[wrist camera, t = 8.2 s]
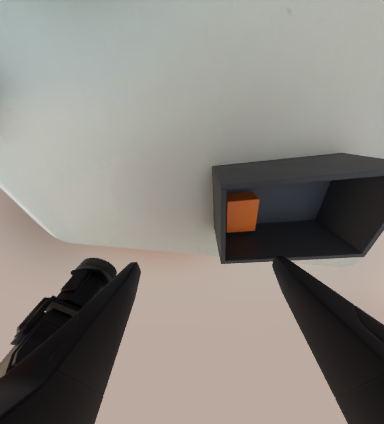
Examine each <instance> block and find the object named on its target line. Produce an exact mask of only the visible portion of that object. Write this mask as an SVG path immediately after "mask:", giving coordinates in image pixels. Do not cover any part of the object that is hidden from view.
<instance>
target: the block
mask: <svg viewBox="0 0 384 424" xmlns="http://www.w3.org/2000/svg"><path fill="white" fill-rule="evenodd" d="M259 200H260V199H259V198H258V197H257V196H256V195H255V194H254V193H253V192H244V193H233V194H227V198H226V232H227V233H229V232H244V231H255V227H256V220H257V214H258V207H259Z"/></svg>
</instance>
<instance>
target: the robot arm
mask: <svg viewBox="0 0 384 424" xmlns="http://www.w3.org/2000/svg"><path fill="white" fill-rule="evenodd" d="M272 265H273V269H274V272H275V275H276V278H277V280H278V283H279V285H280V288H281V290H282V293H283V295H284V297H285V299H286V301H287V303H288V305H289V307H290V309H291V311H292V313H293V315H294V317H295V319H296V321H297V323H298V325H299V327H300V329H301V331H302V333H303V335H304V337H305V339H306V341H307V343H308V345H309V347H310V349H311V351H312V353H313V355H314V357H315V359H316V361H317V363H318V365H319V367H320V369H321V371H322V373H323V375H324V376H325V379H326V381H327V382H328V384H329V387H330V389H331V391H332V393H333V394H334V396H335V397H336V401H337V403H338V405H339V407H340V409H341V410H342V413H343V415H344V417H345V419H346V421H347V422H348V424H384V325H383V324H382V323H380V322H379V321H377V320H376V319H374V318H373V317H371V316H370V315H368V314H367V313H365V312H364V311H362V310H361V309H360V308H358V307H357V306H354V305H353V304H352V303H351V302H349V301H348V300H346V299H345V298H343V297H342V296H340V295H339V294H338V293H336V292H335V291H333V290H332V289H330V288H329V287H328V286H326V285H325V284H323V283H322V282H320V281H319V280H317V279H316V278H315V277H313V276H312V275H310V274H309V273H307V272H306V271H304V270H303V269H301V268H300V267H299V266H297V265H296V264H294V263H293V262H291V261H290V260H288V259H287V258H286V257H284V256H282V255H277V256H275V257H274V260H273V264H272ZM140 273H141V271H140V268H139V265H138V263H137V262H132V263H130V264H129V265H127V266H126V267H125V268H124V269H123V270H122V271H121V272H120V273H119V274H118V275H117V276H116V277H115V278H113V279H112V280H111V281H110V282H109V281H108V280H107V278H106V277H105V275H104V274H103V272H102V271H101V270H100V269H87V270H73V271H71V274H72V275H73V276H72V277H71V278H70V280H69V281H68V282H67V283H66V284H65V286H64V287H63V288H62V289H61V293H60V294H59V295H58V296H57V297H55V296H52V297H51V298H44V299H43V300H42V301H41V302H40V303H39V304H38V305H37V306H36V307H35V308H34V309H33V311H32V312H31V313H30V314H29V315H28V316H27V317H26V318H25V320H24V321H23V322H22V323H21V324H20V325H19V327H18V328H17V334H16V335H15V338H14V340H13V341H12V342H11V344H12V345H15V346H14V347H13V348H12V350H11V351H10V352H9V354H7V356H6V357H5V358H4V359H3V361H2V362H1V363H0V424H94V423H95V420H96V417H97V414H98V411H99V408H100V405H101V402H102V399H103V395H104V392H105V389H106V386H107V383H108V380H109V377H110V374H111V371H112V367H113V364H114V361H115V358H116V355H117V352H118V349H119V346H120V343H121V340H122V337H123V334H124V331H125V327H126V324H127V321H128V318H129V315H130V312H131V309H132V306H133V303H134V300H135V296H136V292H137V287H138V282H139V278H140ZM44 311H47V312H46V313H45V312H44Z"/></svg>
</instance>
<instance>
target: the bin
mask: <svg viewBox="0 0 384 424" xmlns="http://www.w3.org/2000/svg"><path fill="white" fill-rule="evenodd" d="M212 174H213V205H214V229H215V234H216V239H217V245H218V250H219V255H220V260H221V264H226V263H227V264H229V263H248V262H269V261H273V260H274V257H275V256H277V255H282V256H284V257H286V258H287V259H288V260H309V259H329V258H349V257H364V256H365V255H366V254H367V252H368V251H369V250H370V248H371V247H372V246H373V244H374V243H375V241H376V240H377V238H378V237H379V236H380V235H381V233H382V232H383V231H384V159H380V158H373V157H366V156H359V155H353V154H345V153H337V154H328V155H318V156H308V157H298V158H289V159H279V160H269V161H259V162H250V163H240V164H230V165H220V166H212ZM244 192H253V193H254V194H255V195H256V196H257V197H258V198H259V199H260V200H259V207H258V214H257V220H256V227H255V231H244V232H229V233H227V232H226V198H227V194H233V193H244Z"/></svg>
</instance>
